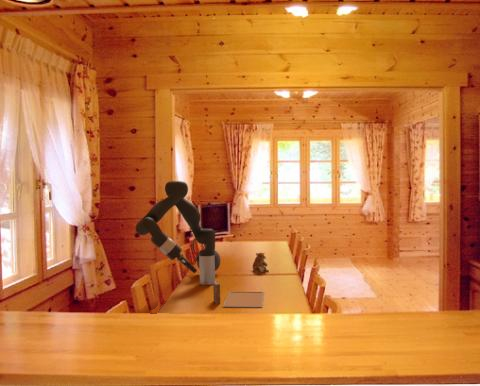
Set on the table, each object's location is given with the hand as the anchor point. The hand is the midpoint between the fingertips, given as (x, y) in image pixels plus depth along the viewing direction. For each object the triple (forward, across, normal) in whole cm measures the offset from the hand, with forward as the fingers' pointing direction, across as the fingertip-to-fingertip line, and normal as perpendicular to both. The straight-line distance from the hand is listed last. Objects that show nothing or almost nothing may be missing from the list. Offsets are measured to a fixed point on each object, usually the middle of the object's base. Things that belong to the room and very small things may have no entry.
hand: (194, 270), depth 212 cm
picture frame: (+31, 0, -6) cm, 31 cm away
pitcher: (+26, +66, -2) cm, 71 cm away
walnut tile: (+20, 0, +4) cm, 20 cm away
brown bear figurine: (+52, +62, -27) cm, 85 cm away
